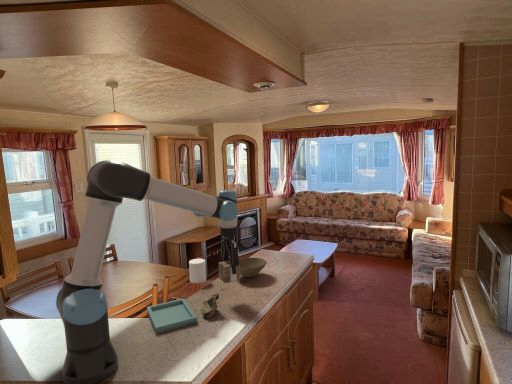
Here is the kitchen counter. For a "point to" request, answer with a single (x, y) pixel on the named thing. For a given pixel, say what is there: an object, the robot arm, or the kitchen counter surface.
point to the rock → (210, 306)
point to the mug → (197, 271)
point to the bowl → (251, 266)
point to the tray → (171, 315)
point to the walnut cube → (227, 271)
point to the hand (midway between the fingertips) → (230, 278)
